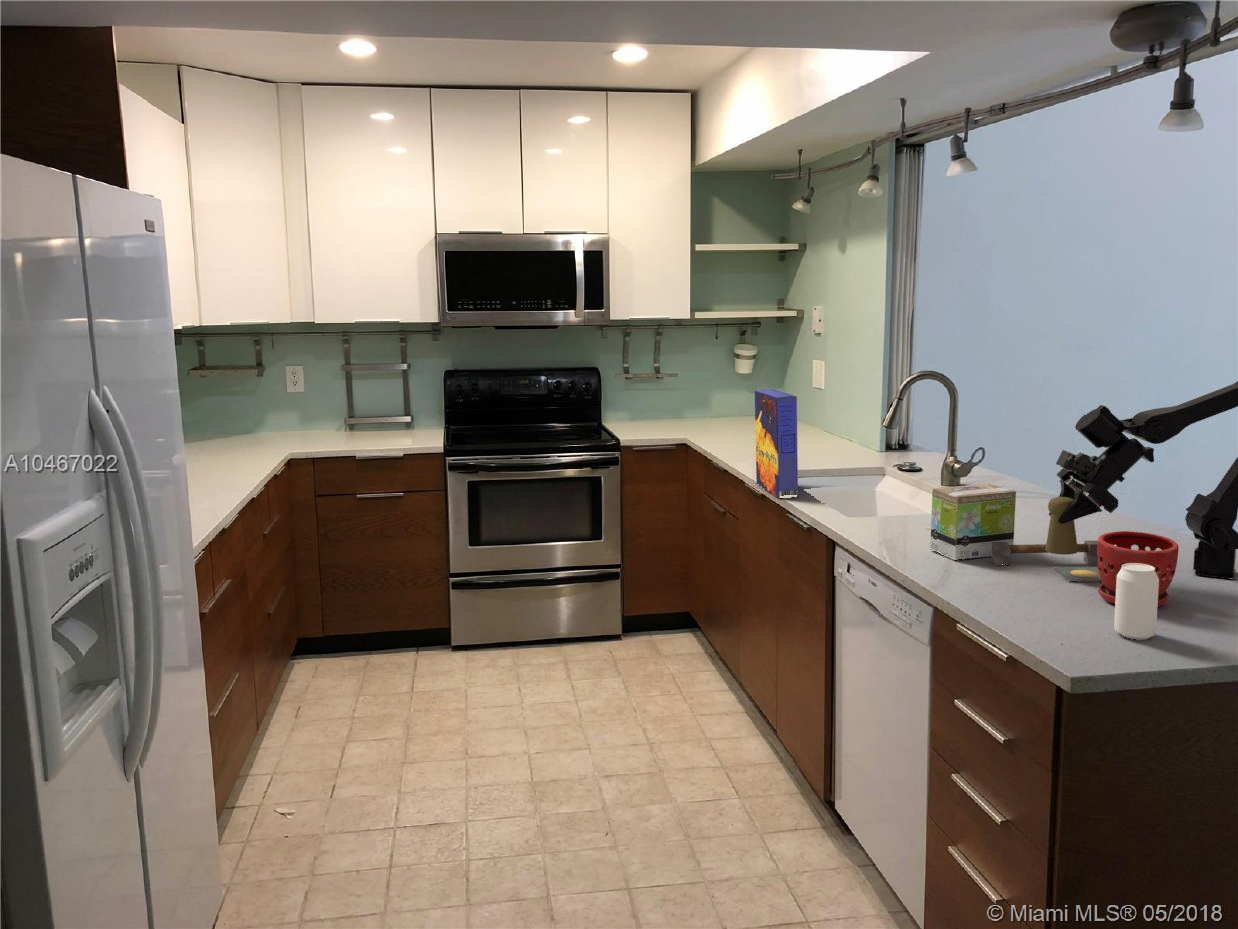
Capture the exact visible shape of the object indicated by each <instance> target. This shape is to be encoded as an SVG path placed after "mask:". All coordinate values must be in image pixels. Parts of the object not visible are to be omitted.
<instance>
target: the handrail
mask: <svg viewBox="0 0 1238 929" xmlns="http://www.w3.org/2000/svg"><path fill="white" fill-rule="evenodd" d="M1097 545H1098V540H1084V543H1077V547H1078V552H1077V553H1083V561H1084V562H1085V563H1086V564H1087V565H1090V566H1091V565H1098V555H1097ZM1045 549H1046V543H1045V544H1043V543H1042V544H1040V543H1039V544H1013V545H1009V544H1008V543H1007V542H992V556H991V562H992V561H993V562H994V564H995V565H1002V564H1003V565H1005V566H1011V554H1010V553H1012V554H1045V553H1046V554H1050V553H1049V552H1047V551H1046V550H1045ZM1102 561H1103V559H1102ZM994 564H993V565H994ZM995 565H994V566H995Z"/></svg>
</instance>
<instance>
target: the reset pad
mask: <svg viewBox="0 0 1238 929" xmlns="http://www.w3.org/2000/svg"><path fill="white" fill-rule="evenodd" d="M1054 569H1055V570H1056V571H1055V570H1054ZM1053 570H1054V571H1055V572H1057V573H1058V572H1059V573H1058V574H1059V575H1060V574H1061V575H1062V576H1063V577H1064V578H1063V577H1062V576H1061V575H1060V576H1061V577H1062V578H1063V579H1065V578H1066V579H1067V580H1068V581H1070V582H1069V583H1072V582H1071V581H1078V582H1077V583H1102V581H1101V578H1100V575H1099V571H1098V566H1093V567H1092V566H1088V567H1087V566H1082V567H1081V566H1079V567H1077V566H1076V567H1064V566H1063V567H1053ZM1066 579H1065V580H1066ZM1067 580H1066V581H1067ZM1068 581H1067V582H1068ZM1082 581H1083V582H1082Z"/></svg>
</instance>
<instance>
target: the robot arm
mask: <svg viewBox="0 0 1238 929" xmlns="http://www.w3.org/2000/svg"><path fill="white" fill-rule="evenodd" d="M1237 407H1238V380H1237V381H1236V382H1233V384H1230V385H1227V386H1224V387H1222V388H1218V389H1217V390H1213V391H1211V392H1208V393H1206V394H1203V395H1201V396H1198V397H1196V398H1194V399H1190V400H1187V401H1186V402H1183V403H1180V404H1177V405H1173V406H1165V407H1158V408H1157V407H1156V408H1152V409H1148V410H1144V411H1140V412H1138V413H1136V414H1135V415H1134V416H1133V417H1130V418H1125V419H1119V418H1117V417H1116V416H1115V414H1113V413H1112V411H1111V410H1110V409H1109V407H1107V406H1106V405H1102V404H1101V405H1099V406H1098V407H1096V408H1095V409H1092V410H1091V411H1089V412H1087V413H1086V414H1084V415H1082V416H1081V417H1080V418H1079V419H1078V421H1077V422H1076V424H1075V427H1074V428H1075V429H1076V430H1077V432H1078V433H1080V434H1081V435H1082V436H1083V437H1084V438H1085V439H1086V440H1087V441H1088V442H1090V443H1091V444H1092V445H1093V446H1094V447H1095V448H1097V449H1100V448H1105V450H1104V451H1102V453H1100V454H1099V456H1097V455H1092V456H1091V455H1088V454H1085V453H1083V452H1079V453H1078V454H1074V453H1072V452H1069V451H1067V450H1064V449H1062V451H1061V453H1060V455H1059V456H1058V459H1057V461H1056V462H1055V464H1056V465H1058V466H1060V467H1061V470H1060V471H1058V472H1057V473H1056V476H1057V477H1058V478H1059V479H1060V480H1059V483H1060V493H1059V495H1058V497H1068V498H1072V499H1073V501H1072V503H1071V504H1070V505H1069V506H1068V508H1067V509H1066V510H1065V511H1064V512H1063V514H1062V515H1061V516H1060V518H1059V519H1058V522H1059V523H1060V524H1064V523H1067V522H1070V521H1072V520H1074V521H1075V520H1079V519H1080V518H1083V517H1087V516H1090V515H1092V514H1097V513H1101V512H1103V509H1104V510H1105V511H1106V512H1108V513H1109V514H1112V513H1113V512H1114V511H1115V510H1116V509H1117V508H1119V499H1118V498H1116V496H1115V495H1113V494H1112V493H1111V492H1110V491H1109V489H1110V488H1111V487H1112V486H1114V484H1116V482H1119V483H1123V481H1124V480H1126V478H1125V477H1124V475H1125V474H1126V473H1127V472H1129V470H1130V469H1131V468H1132V467H1134V466H1135V464H1137V463H1138V462H1139V461H1140V460H1141V459H1143V460H1144V461H1147V462H1150V463H1154V462H1155V456H1154V452H1155V448H1153V447H1151V446H1145V445H1144V444H1143V443H1141V442H1140V441H1139V440H1142V441H1144V442H1146V443H1150V444H1152V445H1153V444H1154V445H1159V444H1163V443H1165V442H1166V441H1169V440H1170V439H1172V438H1174V437H1176V436H1177V435H1179V434H1181V432H1182V431H1184V430H1185V429H1186V428H1188V427H1189V426H1191V425H1193V424H1196V423H1197V422H1200V421H1203V420H1206V419H1208V418H1209V419H1210V418H1211V417H1215V416H1216V415H1219V414H1222V413H1225V412H1227V411H1230V410H1233V409H1235V408H1237ZM1125 433H1126V434H1129V435H1131V436H1133V437H1135V438H1128V437H1127V436H1126V435H1125ZM1101 507H1103V509H1102V508H1101ZM1185 511H1187V513H1186V515H1185V518H1184V520H1185V523H1186V526H1187V528H1188V529H1189V531H1191V532H1192V533H1193V536H1194V539H1195V540H1199V541H1198V544H1197V545H1198V546H1196V547H1195V549H1194V552H1193V566H1192V569H1193V571H1194V575H1195V576H1200V575H1201V577H1208V576H1209V577H1210V578H1217V577H1221V578H1220V579H1225V578H1234V579H1235V575H1236V572H1237V571H1236V570H1237V569H1236V556H1237V550H1238V532H1237V531H1236V530H1235V528H1233V527H1234V525H1235V523H1236V521H1237V519H1238V456H1236V458H1235V459H1234V461H1233V463H1232V464H1231V466H1230V467H1229V469H1228V470H1227V472H1226V473H1225V474H1224V476H1223V477H1222V479H1221V480H1220V482H1219V483H1218V484H1217V486H1216V487H1215V489H1214V490H1213V491H1211V492H1210V493H1209V494H1207V495H1204V494H1201V493H1197V494H1196V496H1195V497H1194V499H1193V501H1192V503H1191V504H1190V505H1189V506H1188V507H1187V508H1185ZM1048 516H1049V517H1051V513H1050V512H1049V513H1048ZM1209 577H1208V578H1209Z"/></svg>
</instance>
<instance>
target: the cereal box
mask: <svg viewBox="0 0 1238 929" xmlns="http://www.w3.org/2000/svg"><path fill="white" fill-rule="evenodd" d="M797 398H798V396H797V395H793V394H789V393H787V392H782V391H780V390H775V389H769V388H768V389H767V388H764V389H758V390H754V419H755V422H754V423H755V424H754V425H755V426H754V427H755V431H754V432H755V465H756V466H755V471H756V472H755V473H756V479H755V480H756V484H757V483H758V484H759V486H762V488H761V489H762V490H763V488H764V489H765V490H764V491H765V492H767V493H768V494H770V495H771V496H773V498H776V499H777V500H780V499H779V497H780V496H784V495H798V496H799V481H798V480H799V477H798V476H799V475H798V473H799V472H798V470H799V469H798V468H799V466H798V462H799V461H798V459H799V458H798V399H797ZM759 486H758V487H759Z"/></svg>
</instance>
